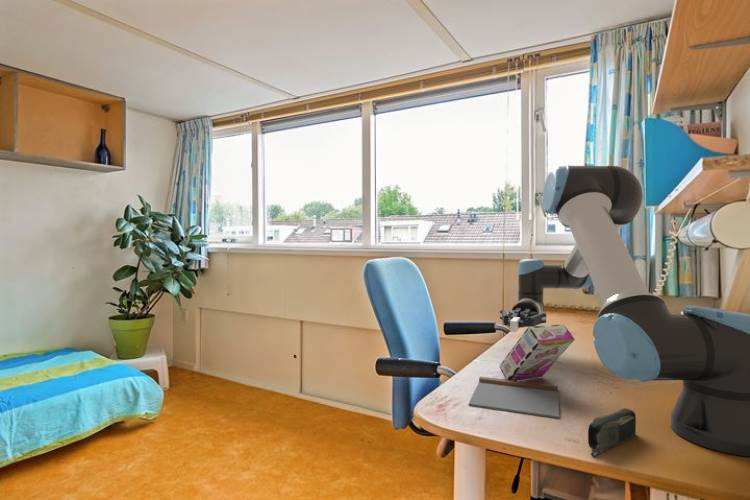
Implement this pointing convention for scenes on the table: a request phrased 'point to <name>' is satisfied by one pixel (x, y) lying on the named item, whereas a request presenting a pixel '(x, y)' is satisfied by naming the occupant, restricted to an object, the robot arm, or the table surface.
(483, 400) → the mat
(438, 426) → the table surface
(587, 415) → the table surface
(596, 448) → the mobile phone
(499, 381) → the strip
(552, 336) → the candy bar box
